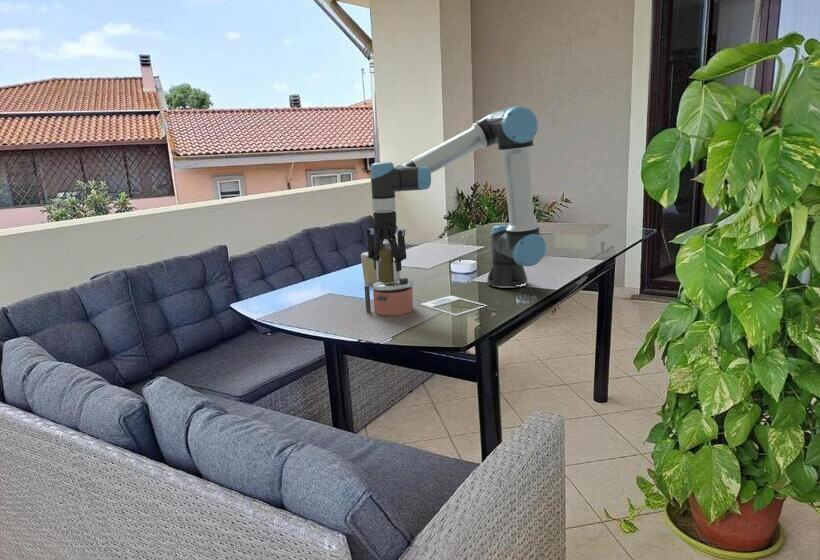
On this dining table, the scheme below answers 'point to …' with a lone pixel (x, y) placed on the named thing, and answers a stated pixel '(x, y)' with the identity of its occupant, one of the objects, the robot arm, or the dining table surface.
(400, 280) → the lid
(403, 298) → the pot
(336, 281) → the dining table surface
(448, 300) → the photo frame
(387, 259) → the cork
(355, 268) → the dining table surface
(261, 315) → the dining table surface
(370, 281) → the coffee cup
